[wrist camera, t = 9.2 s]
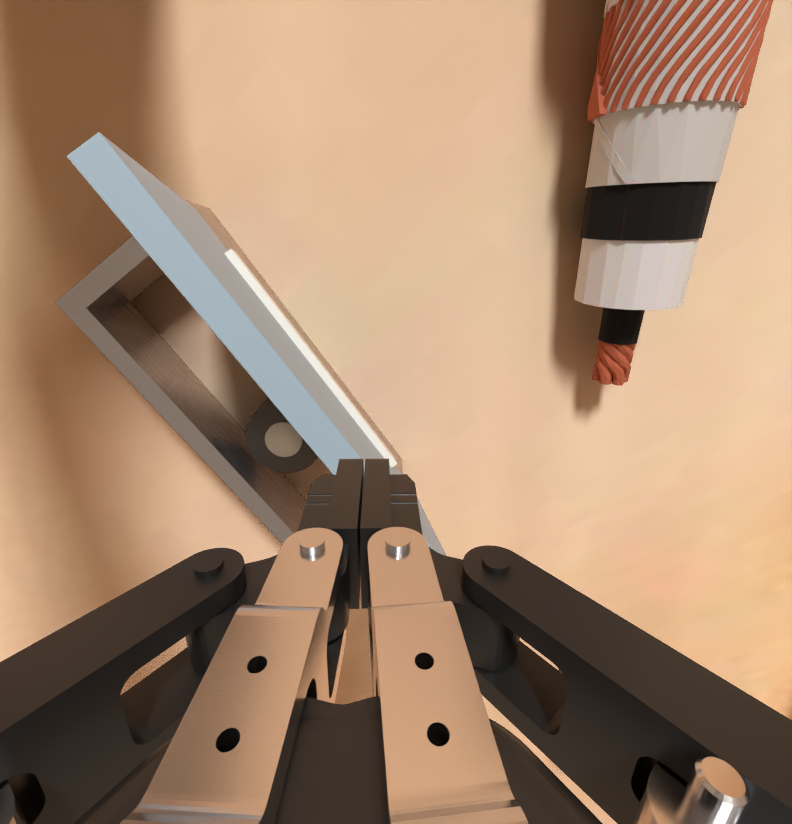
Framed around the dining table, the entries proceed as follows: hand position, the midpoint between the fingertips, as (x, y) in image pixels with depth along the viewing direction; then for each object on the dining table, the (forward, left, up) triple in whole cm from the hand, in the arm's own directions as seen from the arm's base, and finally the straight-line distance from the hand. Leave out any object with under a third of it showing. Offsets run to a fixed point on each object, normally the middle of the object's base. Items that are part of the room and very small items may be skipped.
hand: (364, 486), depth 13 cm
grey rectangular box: (-3, -8, -18) cm, 20 cm away
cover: (-3, -3, -8) cm, 9 cm away
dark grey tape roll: (0, -8, -18) cm, 20 cm away
